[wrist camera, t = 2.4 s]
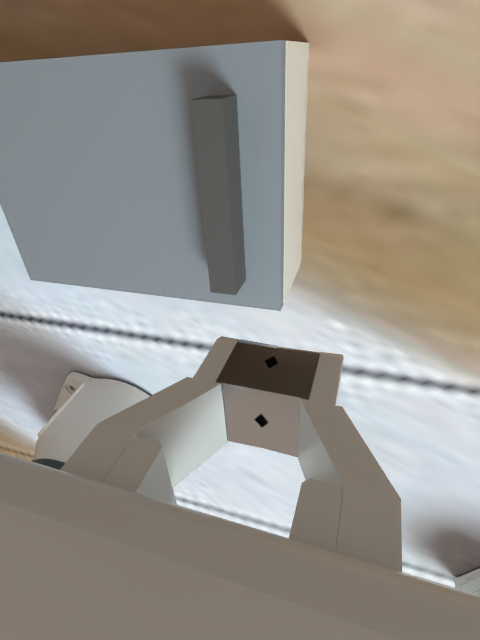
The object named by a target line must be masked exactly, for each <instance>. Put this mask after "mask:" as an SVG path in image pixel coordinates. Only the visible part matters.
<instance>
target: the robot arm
mask: <svg viewBox="0 0 480 640" xmlns="http://www.w3.org/2000/svg"><path fill="white" fill-rule="evenodd" d="M342 366H343V355H340V354H332V353H324V352H321V353H320V352H313V351H306V350H299V349H293V348H286V347H279V346H275V345H269V344H264V343H258V342H252V341H247V340H239V339H234V338H228V337H220V338H218V339H217V340H216V342H215V343H214V345H213V347H212V348H211V350H210V351H209V353H208V355H207V356H206V358H205V359H204V361H203V363H202V364H201V366H200V367H199V369H198V371H197V372H196V374H195V375H194V377H193V378H189V377H187V378H185V379H183V380H181V381H179V382H177V383H175V384H173V385H171V386H169V387H167V388H165V389H163V390H161V391H159V392H157V393H155V394H153V395H152V396H149V395H148V394H146V393H145V392H143V391H141V390H140V389H138V388H136V387H134V386H132V385H129V384H127V383H124V382H121V381H117V380H112V379H99V378H92V377H89V376H86V375H84V374H81V373H77V372H71V373H70V374H69V375H68V376H67V378H66V379H65V382H64V384H63V387H62V389H61V392H60V394H59V397H58V400H57V402H56V405H55V407H54V410H53V412H52V415H51V418H50V420H49V421H48V422H47V424H46V425H45V426H44V427H43V428H42V429H41V430H40V432H39V433H38V437H39V439H38V440H37V443H36V450H35V455H34V459H33V460H32V461H28V460H25V459H21V458H18V457H15V456H11V455H8V454H5V453H1V452H0V640H480V595H477V594H473V593H470V592H467V591H463V590H460V589H457V588H453V587H450V586H447V585H443V584H440V583H436V582H433V581H430V580H426V579H423V578H420V577H416V576H413V575H410V574H406V573H403V572H402V544H401V499H400V497H399V495H398V494H397V492H396V491H395V489H394V488H393V486H392V484H391V483H390V481H389V480H388V478H387V477H386V475H385V473H384V472H383V470H382V469H381V467H380V466H379V464H378V462H377V461H376V459H375V458H374V456H373V454H372V453H371V451H370V450H369V448H368V447H367V445H366V443H365V442H364V440H363V439H362V437H361V436H360V434H359V432H358V431H357V429H356V428H355V426H354V425H353V423H352V421H351V420H350V418H349V417H348V415H347V414H346V412H345V410H344V409H343V407H341V406H338V399H339V391H340V382H341V374H342ZM227 441H231V442H236V443H241V444H246V445H251V446H256V447H261V448H265V449H269V450H272V451H276V452H280V453H284V454H288V455H291V456H295V457H298V460H299V463H300V466H301V468H302V471H303V474H304V477H305V479H306V481H304V482H302V485H301V489H300V493H299V498H298V502H297V506H296V510H295V515H294V519H293V523H292V527H291V532H290V536H289V538H286V537H282V536H279V535H276V534H272V533H269V532H266V531H262V530H259V529H256V528H252V527H249V526H245V525H242V524H239V523H235V522H232V521H229V520H225V519H222V518H219V517H215V516H212V515H209V514H205V513H202V512H199V511H195V510H192V509H189V508H185V507H182V506H179V505H177V504H176V500H175V496H174V492H173V487H174V486H175V485H177V484H178V483H179V482H180V481H181V480H183V479H184V478H185V477H186V476H188V475H189V474H190V473H191V472H192V471H194V470H195V469H196V468H197V467H199V466H200V465H201V464H202V463H203V462H205V461H206V460H207V459H208V458H210V457H211V456H212V455H213V454H214V453H216V452H217V451H218V450H219V449H221V448H222V447H223V446H224V445H225V444H227Z"/></svg>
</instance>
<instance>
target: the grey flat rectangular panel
mask: <svg viewBox="0 0 480 640" xmlns="http://www.w3.org/2000/svg"><path fill="white" fill-rule="evenodd" d="M285 66H286V40H276V41H263V42H250V43H238V44H225V45H213V46H200V47H188V48H175V49H163V50H150V51H137V52H125V53H112V54H100V55H87V56H75V57H62V58H50V59H37V60H24V61H12V62H0V204H1V207H2V209H3V212H4V214H5V217H6V219H7V222H8V224H9V227H10V229H11V232H12V234H13V237H14V239H15V242H16V244H17V247H18V249H19V252H20V254H21V257H22V259H23V262H24V264H25V267H26V269H27V272H28V274H29V277H30V279H31V280H36V281H44V282H52V283H60V284H68V285H76V286H84V287H92V288H100V289H108V290H117V291H125V292H133V293H141V294H149V295H157V296H165V297H173V298H181V299H189V300H197V301H205V302H213V303H221V304H230V305H238V306H246V307H254V308H262V309H270V310H278V311H281V308H282V306H283V278H284V172H285Z"/></svg>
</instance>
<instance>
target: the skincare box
mask: <svg viewBox="0 0 480 640" xmlns="http://www.w3.org/2000/svg"><path fill="white" fill-rule="evenodd" d="M455 587H456V588H457V589H460V590H463V591H467V592H470V593H473V594H477V595H480V568H479V569H477V570H474V571H472V572H469V573H467V574H465V575H462V576H460V577H458V578H455Z"/></svg>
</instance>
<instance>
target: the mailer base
mask: <svg viewBox="0 0 480 640" xmlns="http://www.w3.org/2000/svg"><path fill="white" fill-rule="evenodd" d="M308 59H309V43H304V42H295V41H286V66H285V172H284V278H283V302H284V301H285V299H286V297H287V295H288V292H289V290H290V288H291V285H292V283H293V281H294V278H295V276H296V274H297V271H298V269H299V267H300V264H301V249H302V222H303V195H304V167H305V140H306V113H307V86H308Z"/></svg>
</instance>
